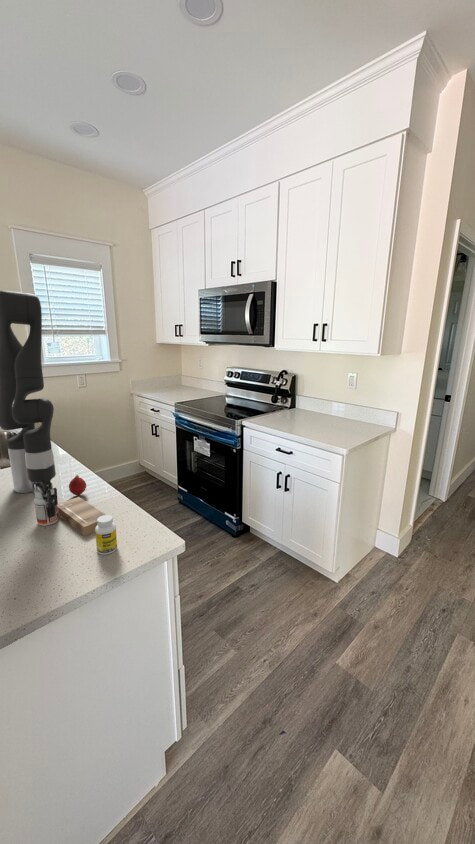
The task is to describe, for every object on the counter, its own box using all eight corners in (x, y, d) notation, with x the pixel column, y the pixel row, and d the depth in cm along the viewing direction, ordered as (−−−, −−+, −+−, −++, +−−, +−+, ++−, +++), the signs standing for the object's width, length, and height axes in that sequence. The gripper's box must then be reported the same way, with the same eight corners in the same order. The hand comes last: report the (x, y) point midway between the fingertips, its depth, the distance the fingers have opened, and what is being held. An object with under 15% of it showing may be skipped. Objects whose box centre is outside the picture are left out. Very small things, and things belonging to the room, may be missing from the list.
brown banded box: (56, 513, 118) (55, 504, 117) (79, 504, 124) (78, 496, 123) (85, 535, 105) (84, 526, 104) (109, 525, 111) (108, 516, 110)
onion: (80, 499, 127) (78, 479, 125) (66, 498, 128) (64, 477, 126) (90, 492, 132) (88, 473, 130) (76, 491, 134) (74, 471, 131)
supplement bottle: (102, 558, 95) (99, 526, 93) (93, 549, 99) (90, 518, 96) (121, 549, 99) (118, 518, 97) (111, 541, 103) (109, 511, 100)
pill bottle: (59, 514, 116) (55, 483, 113) (58, 523, 111) (54, 491, 108) (37, 518, 114) (33, 486, 111) (36, 528, 108) (31, 494, 105)
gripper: (18, 460, 109) (25, 509, 113) (36, 473, 100) (43, 525, 104) (43, 454, 114) (49, 501, 119) (63, 466, 105) (69, 516, 110)
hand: (47, 512), depth 111 cm, fingers closed on pill bottle, 6 cm apart
